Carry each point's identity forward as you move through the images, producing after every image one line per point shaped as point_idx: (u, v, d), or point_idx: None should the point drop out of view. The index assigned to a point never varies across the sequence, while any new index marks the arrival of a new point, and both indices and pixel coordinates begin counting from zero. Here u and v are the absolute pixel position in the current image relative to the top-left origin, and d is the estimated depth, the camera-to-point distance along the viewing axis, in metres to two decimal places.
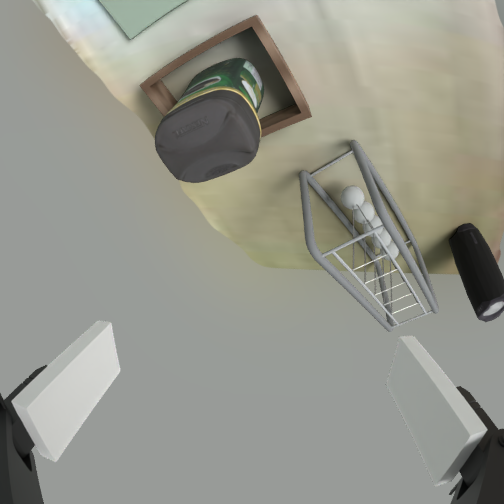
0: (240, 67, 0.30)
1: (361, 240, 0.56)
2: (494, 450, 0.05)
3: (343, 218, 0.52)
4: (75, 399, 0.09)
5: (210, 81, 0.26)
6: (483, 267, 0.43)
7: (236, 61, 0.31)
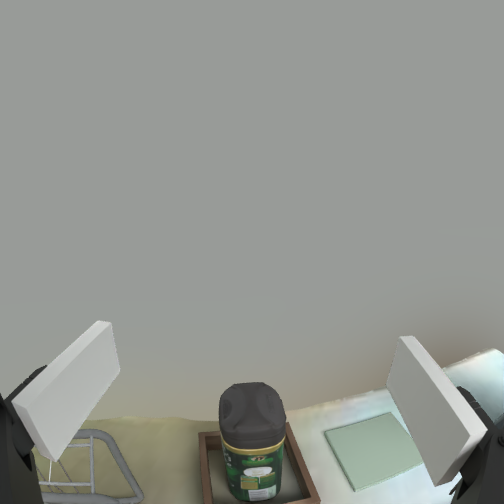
0: (277, 480, 0.31)
1: None
2: (494, 450, 0.05)
3: None
4: (74, 399, 0.09)
5: None
6: None
7: (279, 484, 0.32)
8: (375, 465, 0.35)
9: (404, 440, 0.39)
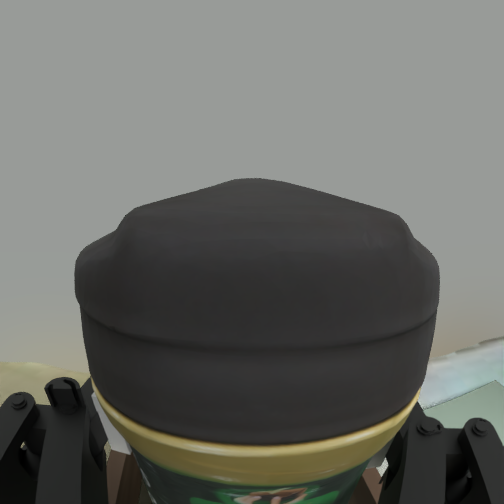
0: None
1: None
2: (414, 440, 0.06)
3: None
4: None
5: None
6: None
7: None
8: None
9: None
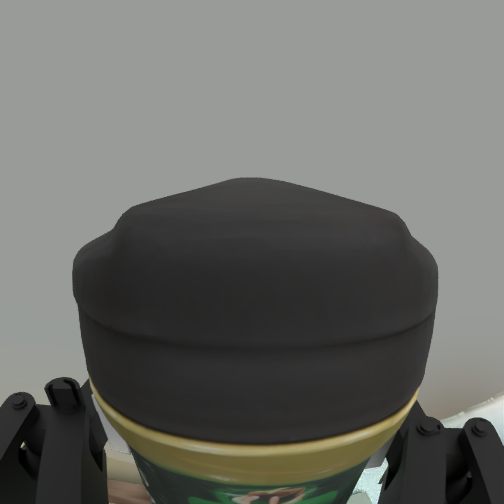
0: None
1: None
2: (414, 439, 0.06)
3: None
4: None
5: None
6: None
7: None
8: None
9: None
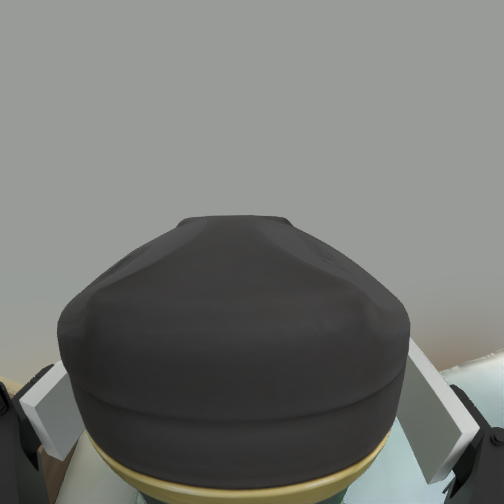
0: None
1: None
2: (487, 449, 0.05)
3: None
4: None
5: None
6: None
7: None
8: None
9: None
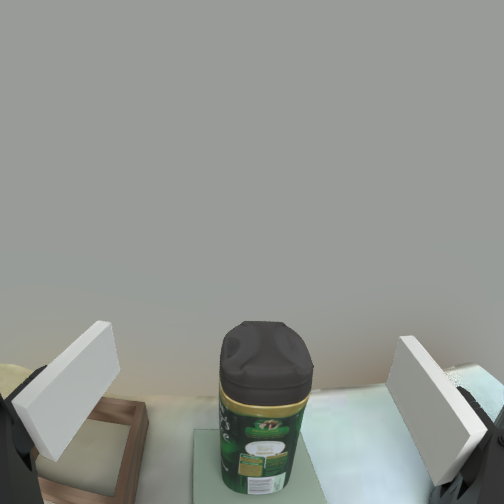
0: (288, 466, 0.24)
1: None
2: (494, 450, 0.05)
3: None
4: (74, 399, 0.09)
5: None
6: None
7: (289, 474, 0.25)
8: None
9: (300, 468, 0.28)
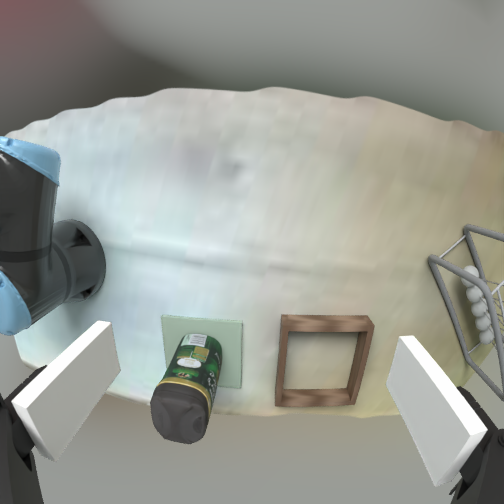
0: (178, 349, 0.45)
1: (461, 333, 0.48)
2: (494, 450, 0.05)
3: (452, 308, 0.46)
4: (75, 399, 0.09)
5: None
6: None
7: None
8: None
9: (172, 347, 0.51)
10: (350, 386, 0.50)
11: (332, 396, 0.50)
